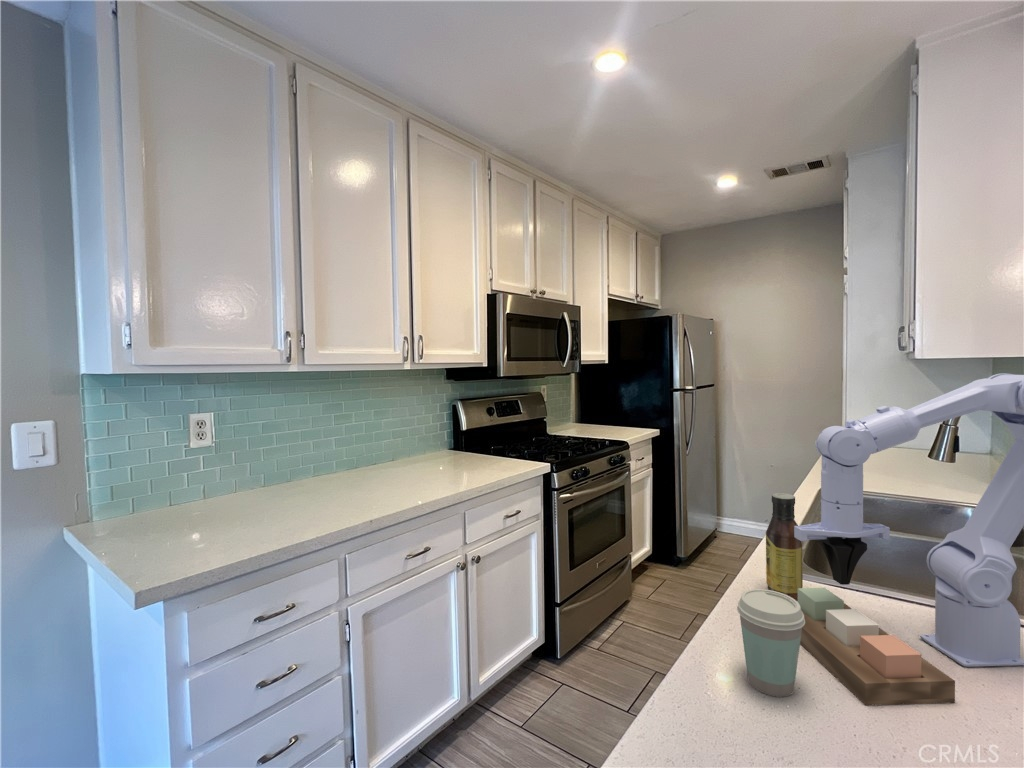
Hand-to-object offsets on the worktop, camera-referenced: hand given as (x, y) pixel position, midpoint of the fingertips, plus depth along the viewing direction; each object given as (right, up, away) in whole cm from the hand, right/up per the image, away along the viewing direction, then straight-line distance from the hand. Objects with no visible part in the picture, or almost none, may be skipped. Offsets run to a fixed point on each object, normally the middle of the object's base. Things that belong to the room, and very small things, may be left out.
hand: (841, 581), depth 80 cm
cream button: (-1, -8, -4) cm, 9 cm away
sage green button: (-1, -7, +3) cm, 8 cm away
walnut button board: (-1, -10, -4) cm, 11 cm away
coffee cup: (-17, -10, -10) cm, 23 cm away
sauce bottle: (-1, -9, +16) cm, 18 cm away
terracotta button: (-1, -8, -12) cm, 14 cm away
